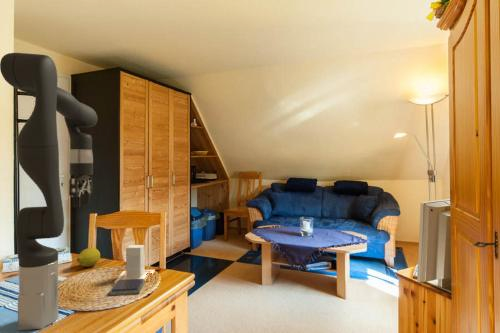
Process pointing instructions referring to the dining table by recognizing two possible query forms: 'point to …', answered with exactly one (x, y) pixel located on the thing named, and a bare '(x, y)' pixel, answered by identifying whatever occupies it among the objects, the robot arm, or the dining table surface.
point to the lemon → (88, 257)
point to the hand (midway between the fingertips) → (81, 205)
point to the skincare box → (135, 261)
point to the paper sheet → (123, 277)
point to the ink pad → (127, 286)
